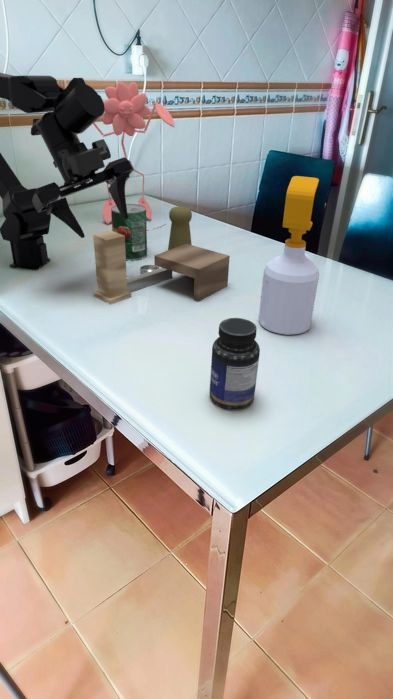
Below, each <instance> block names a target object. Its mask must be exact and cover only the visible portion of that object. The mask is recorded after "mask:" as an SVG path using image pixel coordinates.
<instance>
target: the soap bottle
mask: <svg viewBox="0 0 393 699" xmlns="http://www.w3.org/2000/svg"><path fill="white" fill-rule="evenodd" d="M319 182H320V179H319V178H318V177H310V176H303V175H302V176H301V175H294V176H292V177H291V179H290V182H289V185H288V187H287V190H286V195H285V201H284V202H285V203H284V209H283V210H284V211H283V217H282V218H283V219H282V220H283V221H282V228H287V229H288V232H289V233H290V234H291V235H290V238H287V239H286V240H285V241H284V242H285V244H284V249H283V250H284V251H283V253H282V254H280V255H277V256H275V257H273V258H271V259H270V260H268V261H267V263H266V265H265V267H264V269H263V276H262V285H261V296H260V301H259V302H260V303H259V312H258V322H259V324H260V326H261V327H262V328H264V329H266V330H268V331H270V332H272V333H276V334H278V335H287V336H290V335H299V334H303V333H306V332H307V331H308V330H309V329H310V328H311V324H312V318H313V314H314V313H313V312H314V308H315V307H314V306H315V302H316V296H317V289H318V284H319V280H320V272H319V268H318V267H317V265H316V264H315V263H314V261H312V260H311V259H310V258H308V257H307V256H306V255H305V253H306V246H307V242H306V241H305V240H304V239H302V236H303V235H304V234H307V231H311V228H312V226H313V221H312V220H311V219H312V214H313V207H314V200H315V197H316V196H315V195H316V192H317V188H318V186H319Z"/></svg>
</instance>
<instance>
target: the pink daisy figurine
mask: <svg viewBox="0 0 393 699" xmlns="http://www.w3.org/2000/svg"><path fill="white" fill-rule="evenodd" d="M139 92H140V91H139V87H138V84H137V82H135V81H131V82H130V83H129V85H127V84H126V83H124V82H123V81H118V82H117V83H116V87H115V86H107V87H106V88H105V89H104V93H105V95H106V97H107V99H105V100H103V102H104V107H105V111H104V113H103V115H102V123H103V124H104V125H107V126H108V125H111V124H112V130H113V131H111V132H108V133H103V132H102V130H101V129H100V127H99V126H98V125H97V123H96V121H95V122H94V123H93V124H92V125H93V126H94V127H95V128H96V129H97V131H98V132H99V133H100V134H101V136H102V137H103V138H104V137H108V136H110V135H114V134H115V136H120V135H122V136H121V143H120V145H121V147H122V150H123V154H124V157H125V158H126V159H128V157H127V153H126V148H125V144H124V139H125V134H126V135H127V136H129V137H133V136H135V133H142V134H146V132H147V130H148V126H149V125H150V122H151V119H152V117H153V115H154V112H155V111H156V113H157V115H158V117H159V118H160V120H162V121H163V122H164V124H167V125H169V127H172V128H175V127H176V126H175V122H174V118H173V116H172V115H171V113H170V112H169V110H167V108H166V107H165V106H163V105H162V104H160V103H158V102H156V101H155V102H154V103H153V107H152V110H151V109H150V107H149V106H147V105H146V103H147V94H146V93H139ZM148 115H149V117H148V119H147V121H146V120H144V118H146V117H147V116H148ZM143 129H144V130H143ZM76 134H77V135H79V134H78V133H76ZM133 172H135V173H137V174H139V175H140V176H142V192H141V193H142V197H139V198H138V204H139V205H143V206H145V207H146V219H147V220H149V221H151V220H152V209H151V206H150V204H149V202H148V201H147V200H146V199H145V198H144V196H145V194H144V192H145V175H144V174H143V173H141V172H139V171H137V169H134V170H133ZM106 186H107V193H108V199H107V200H106V201H105V202H104V204H103V206H102V217H103V218H104V221H105V222H106V225H108V224H110V223H111V222H112V217H111V207H112V206H115V205H116V204H115V202H114V200H113V199H112V198H111V194H110V192H109V190H108V188H109V187H110V184H108V183H106ZM88 220H89V217H88ZM163 226H165V224H163V225H161V226H159V227H160V228H162V227H163ZM159 227H155V228H154V230H156V228H157V229H158V228H159ZM160 228H159V229H160Z"/></svg>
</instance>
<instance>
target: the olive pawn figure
mask: <svg viewBox="0 0 393 699" xmlns="http://www.w3.org/2000/svg"><path fill="white" fill-rule="evenodd" d="M168 217H169V220H170V221H171V224H170V231H169V232H170V233H169V237H168V238H169V240H168V245H167V246H168V247H167V251H168V250H171V249H173V248H176V247H179V246H181V245H184V244H190V245H192V236H191V235H192V234H191V226H190V222H191V221H192V218H193V212H192V210H191V209H190V207H186V206H183V205H182V206H174V207H172V208H171V209H170V210H169V213H168Z"/></svg>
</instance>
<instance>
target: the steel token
mask: <svg viewBox="0 0 393 699" xmlns="http://www.w3.org/2000/svg"><path fill="white" fill-rule="evenodd" d="M159 268H160V267H158V266H155V264H154V265H153V264H146V265H142V266H140V268H139V275H141V274H144V273H147V272H150V271H153V270H156V269H159Z"/></svg>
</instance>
